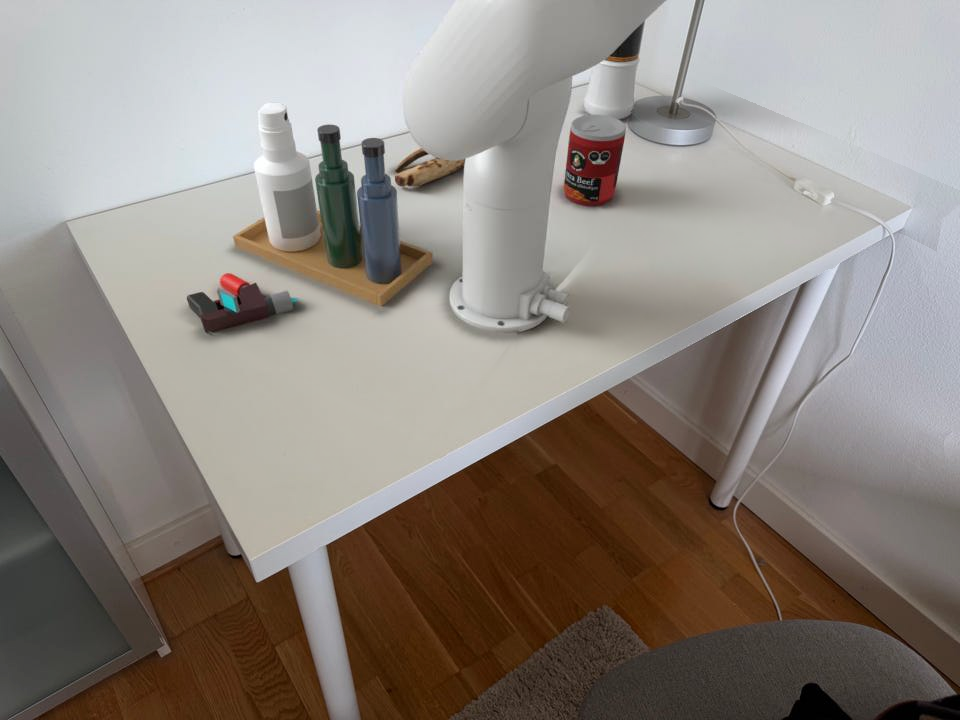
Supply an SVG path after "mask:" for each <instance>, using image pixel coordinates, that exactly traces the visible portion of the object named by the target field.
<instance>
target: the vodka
mask: <svg viewBox="0 0 960 720" xmlns="http://www.w3.org/2000/svg"><path fill="white" fill-rule="evenodd" d="M645 24H646V20H645V21H644V22H643V23H642V24H641V25H640V26H639V27H638V28H637V29H635V30H634V31H633V32H632V33H631V34H630V35H629V37H628V38H627V39H626V40H625V41H624V42H623V43H622V44H621V45H620V46H619V47H618V48H617V49H616V50H615V51H614V52H613V53H612V54H611V55H610V56H609V57H607V58H606V59H605V60H603V61H602V62H600V63H599V64H597V65H595V66H593V67H592V68H591V71H590V76H589V80H588V86H587V89H586V93H585V95H584V99H583V108H584V111H585V112H586V113H587V115H605V116H610V117H613V118H616V119H618V120H620V121H621V120H623V119H626V118H629V116H631V114H632V113H633V111H632V112H631V110H632V108H633V109H634V107H633V106H635V87H636V86H635V84H636V77H637V76H636V75H637V70H638V65H639V63H640V52H641V47H642V41H643V35H644V30H645Z"/></svg>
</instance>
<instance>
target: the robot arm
mask: <svg viewBox="0 0 960 720" xmlns="http://www.w3.org/2000/svg"><path fill="white" fill-rule="evenodd" d="M665 2H667V0H455V1H453V3H452V5H451V7H450V8H449V9H448V11H447V12H446V13H445V15H444V17H442V20H441V21H440V23H439V24H438V26H437V27H436V29H435V30H434V31H433V33H432V34H431V35H430V37H429V39H428V40H427V41H426V43H425V44H424V46H423V47H422V49H421V50H420V52H419V53H418V55H416V58H415V60H414V61H413V63H412V65H411V67H410V68H409V70H408V73H407V76H406V79H405V82H404V87H403V92H402V112H403V118H404V122H405V125H406V128H407V131H408V133H409V134H410V136H411V138H412V140H413V141H414V142H415V144H416V145H418V147H420V149H421V148H422V149H423V150H424V151H425V152H427V153H428V155H429V156H432V157H434V158H439V159H443V160H449V161H455V160H462V159H465V165H464V167H463V186H462V187H463V189H462V191H463V192H462V196H463V197H462V202H463V203H462V275H461V276H460V277H458V278H457V279H456V280H455V281H454V282H453V284H452V285H451V287H450V290H449V295H448V296H449V297H448V298H449V305H450V307H451V310H452V311H453V313H454V314H455V315H456V316H457V317H458V319H460V320H462V321H463V322H464V323H466V324H468V325H470V326H472V327H475V328H477V329H480V330H483V331H489V332H495V333H512V332H513V333H514V332H517V333H522V332H525V331H528V330H530V329H533V328H535V327H537V326H538V325H540V324H542V323H543V322H544V321H545V320H546V319H547V317H548V318H551V319H553V320H556V321H558V322H560V323H565V322H566V321H567V320H568V318H569V315H570V311H571V307H570V306H568V305H567V303H568V301H569V298H570V295H569V294H567V293H565V292H562V291H559V290H558V291H557V290H555V289H553V288H552V287H553V286H550V280H551V273H549V272H546V271H544V260H545V251H546V243H547V242H546V241H547V232H548V224H549V223H548V222H549V213H550V204H551V193H552V187H553V180H554V179H553V178H554V170H555V162H556V155H557V150H558V145H559V142H560V137H561V133H562V130H563V127H564V124H565V120H566V117H567V113H568V110H569V106H570V102H571V97H572V89H573V77H574V76H576V75H579V74H580V73H583V72H585V71H587V70H590V69H592V67H593V66H595V65H597V64H599V63H600V62H602V61H603V60H605V59H606V58H607V57H609V56H610V55H611V54H612V53H613V52H614V51H615V50H616V49H617V48H618V47H619V46H620V45H621V44H622V43H623V42H624V41H625V40H626V39H627V38H628V37H629V35H630V34H631V33H632V32H633V31H634V30H635V29H637V28H638V27H639V26H640V25H641V24H642V23H643V22H644V21H645V22H646V20H648V18H650V16H652V14H653V13H655V12H656V11H657V10H658V9H659V8H660V7H661V6H662V5H663V4H664V3H665Z"/></svg>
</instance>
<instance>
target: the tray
mask: <svg viewBox="0 0 960 720" xmlns="http://www.w3.org/2000/svg"><path fill="white" fill-rule="evenodd" d="M317 215H318V221H319V228H320V234H321V236H320V239H319V241H318V242H317V243H316V244H315V245H314V246H312V247H310V248H308V249H305V250H302V251H295V252H289V251H282V250H278V249H277V248H275V247H273V245H272V244H271V243H270V241H269V237H268V232H267V227H266V222H265V218H264V217H262V218H260V219H259V220H257V221H256V222H254V223H252V224H251V225H248V226H247V227H246V228H244V229H243V230H240V231H239V232H238V233H236V234H234V235H233V236H232V239H233V243H234V246H235V248H238V249H240V250H243V251H246V252H248V253H250V254H253V255H255V256H258V257H261V258H262V259H264V260H267V261H270V262H272V263H274V264H277V265H280V266H282V267H284V268H287V269H289V270H292V271H294V272H296V273H299V274H301V275H304V276H306V277H308V278H311V279H313V280H316V281H318V282H320V283H323V284H325V285H328V286H330V287H332V288H335V289H338V290H339V291H343V292H345V293H347V294H350V295H352V296H355V297H357V298H359V299H362V300H364V301H366V302H369V303H371V304H373V305H376V306H379V307H383V306H384V305H385V304H386V303H388V302H389V301H390V300H391V299H392V298H394V297H395V296H396V295H397V294H398V293H399V292H400V291H402V290H403V289H404V288H405V287H406V286H408V285H409V284H410V283H411V282H412V281H413V280H414V279H415V278H417V277H418V276H419V275H420V274H421V273H422V272H424V271H425V270H426V269H427V268H429V266H430V265H432V264H433V263H434V258H433V252H432V251H429V250H428V249H425V248H421V247H420V246H419V247H418V246H416V245H413V244H410V243H408V242H405V241H402V240H400V251H401V267H402V274H401V275H400V276H398V277H397V278H396V279H395V280H394V281H392V282H391V283H388V284H377V283H373V282H371V281H369V280H368V279H367V277H366V274H365V264H364V255H363V245H362V236H361V226H360V225H359V228H360V237H361V246H362V256H363V258H362V261H361V262H360V263H359V264H358V265H356V266H354V267H350V268H336V267H333V266H331V265H330V264H329V263H328V261H327V256H326V249H325V242H324V236H323V229H322V222H321V215H320V210H317Z"/></svg>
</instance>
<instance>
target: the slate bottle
mask: <svg viewBox="0 0 960 720" xmlns="http://www.w3.org/2000/svg"><path fill="white" fill-rule="evenodd" d="M360 143H361V153H362V155H363V161H364V171H365V174H363V176H362V177H361V179H360V185H361V186H360V187H359V188H358V189H357V191H356V199H357V208H358V218H359V226H361V236H362V245H363V255H364V264H365V274H366V277H367V279H368V280H369V281H371V282H373V283H377V284H388V283H391V282H392V281H394V280H395V279H396V278H397V277H398V276H400V275H401V274H402V267H401V251H400V241H401V237H400V235H401V234H400V220H399V204H398V203H399V202H398V191H397V189H396V187H395V186H393V185H392V178H391V176H390V175H389V174H387V173H386V167H385V153H386V149H385V141H384V140H383V139H381V138H379V137H369V138H365V139H363V140H362V141H361V142H360Z"/></svg>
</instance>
